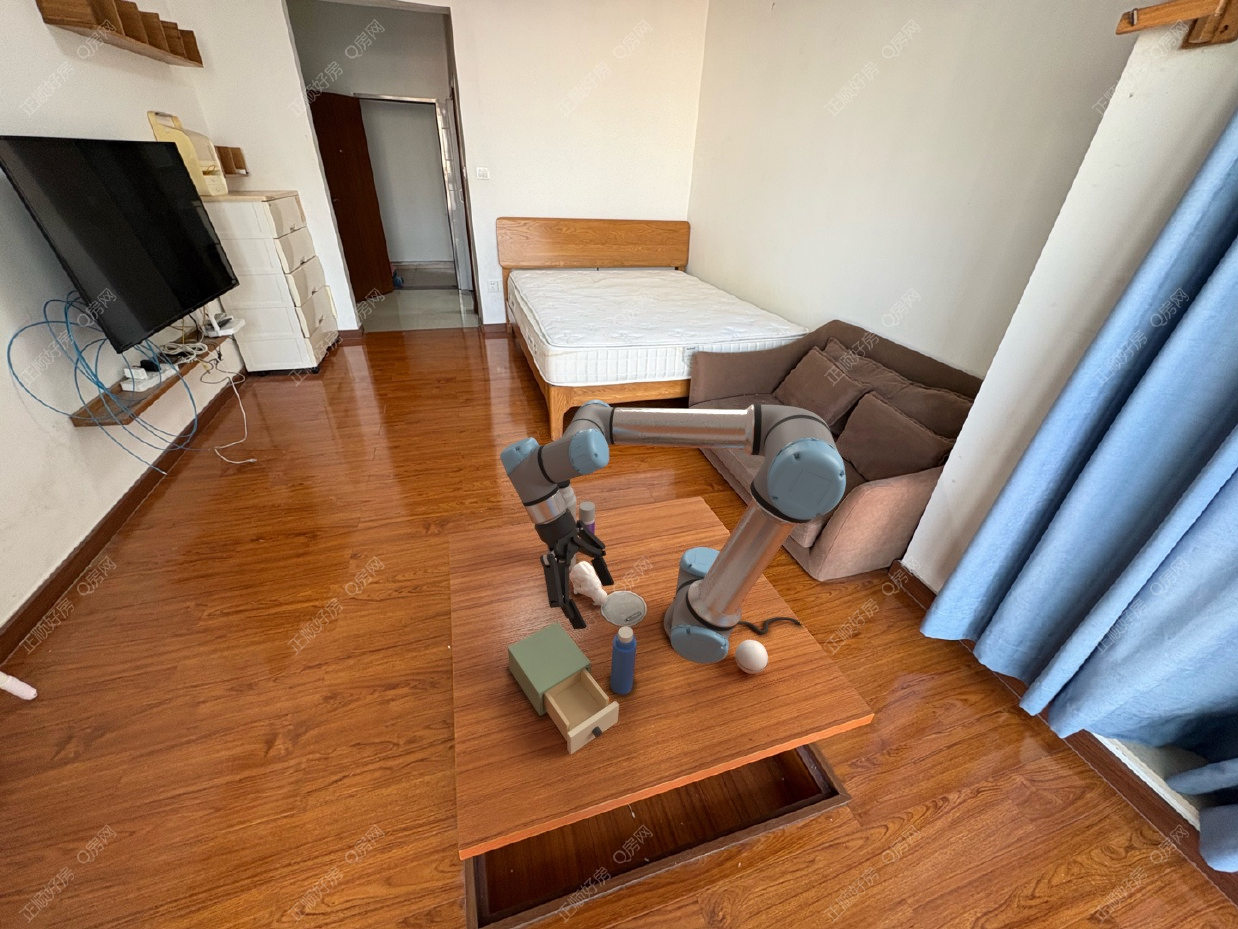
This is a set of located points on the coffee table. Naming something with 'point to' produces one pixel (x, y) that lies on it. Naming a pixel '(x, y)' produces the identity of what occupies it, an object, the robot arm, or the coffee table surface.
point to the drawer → (580, 709)
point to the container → (587, 515)
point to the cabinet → (545, 662)
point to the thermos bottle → (571, 505)
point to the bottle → (623, 661)
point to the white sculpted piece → (587, 583)
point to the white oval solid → (751, 656)
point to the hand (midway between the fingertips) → (595, 605)
